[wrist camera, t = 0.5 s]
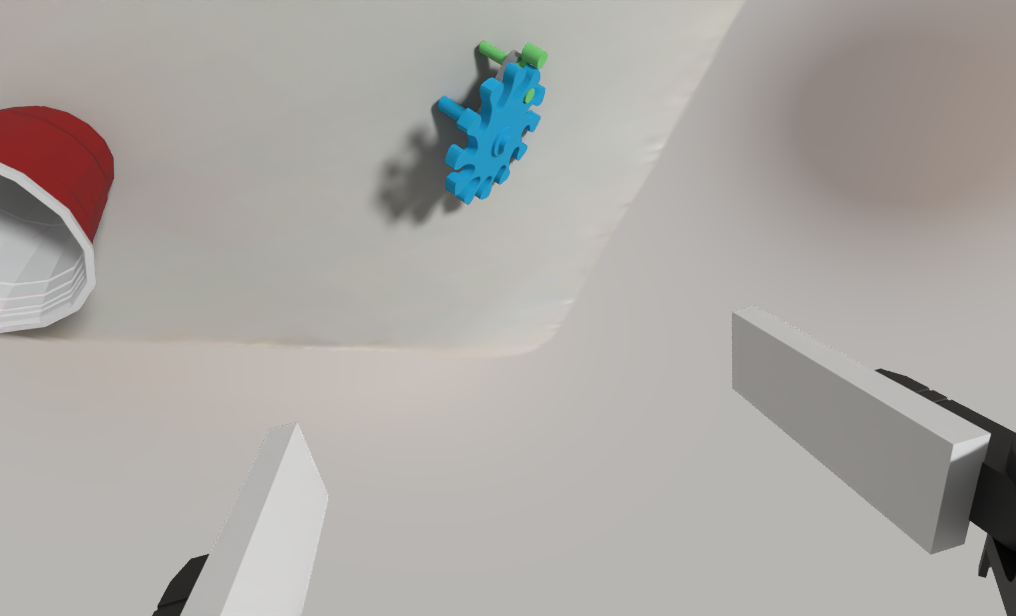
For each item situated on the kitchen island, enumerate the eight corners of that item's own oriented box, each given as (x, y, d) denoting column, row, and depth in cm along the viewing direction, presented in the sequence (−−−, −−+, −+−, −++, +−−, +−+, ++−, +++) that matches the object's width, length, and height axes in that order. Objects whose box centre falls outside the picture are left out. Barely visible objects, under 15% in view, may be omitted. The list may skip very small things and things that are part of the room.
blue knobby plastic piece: (497, 213, 39) (438, 202, 30) (441, 175, 41) (368, 153, 31) (573, 84, 36) (534, 27, 27) (510, 47, 37) (451, -20, 28)
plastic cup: (43, 250, 34) (-71, 368, 25) (-112, 90, 27) (-348, 173, 18) (198, 206, 35) (142, 306, 26) (86, 41, 28) (-44, 96, 19)
